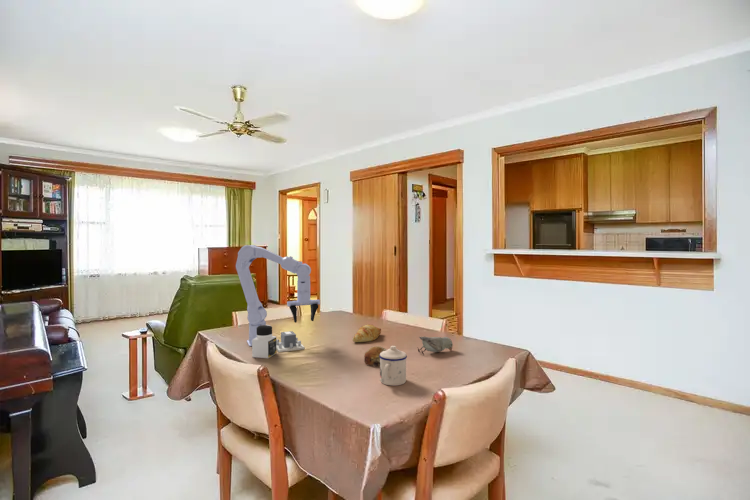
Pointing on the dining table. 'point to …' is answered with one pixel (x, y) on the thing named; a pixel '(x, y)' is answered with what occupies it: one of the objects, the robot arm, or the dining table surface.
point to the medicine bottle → (264, 342)
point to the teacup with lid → (393, 367)
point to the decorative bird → (436, 344)
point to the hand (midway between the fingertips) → (303, 321)
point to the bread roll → (373, 356)
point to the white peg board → (282, 349)
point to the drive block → (288, 338)
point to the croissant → (367, 333)
